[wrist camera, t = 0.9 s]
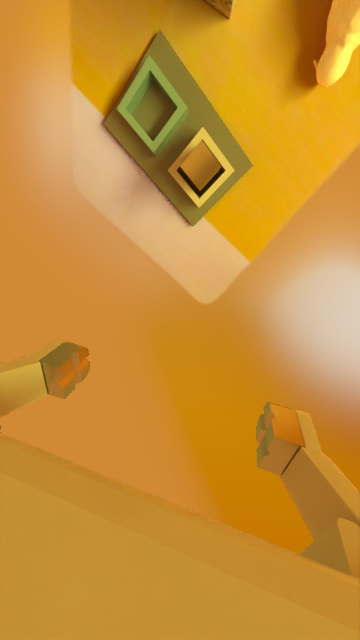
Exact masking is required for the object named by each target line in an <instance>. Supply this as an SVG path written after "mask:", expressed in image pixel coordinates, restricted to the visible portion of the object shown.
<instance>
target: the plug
mask: <svg viewBox="0 0 360 640" xmlns="http://www.w3.org/2000/svg"><path fill="white" fill-rule="evenodd" d="M180 167H181V168H182V169H183V171H184V172H185V173H186V174H187V176H188V177H189V178H190V179H191V181H192V182H193V183H194V184H195V186H196V187H197V188H198V189H199V191H201V190H202V189H203V188H204V186H205V185H206V184H207V183H208V182H209V181H210V180H211V179H212V178H213V177H214V176H215V174H216V173H217V172H218V171H219V169H220V168H221V165H220V164H219V162H218V161H217V160H216V158H215V157H214V156H213V154H212V153H211V152H210V150H209V149H208V147H207V146H206V145H205V143H204V142H203V141H202V140H201V141H200V143H199V144H198V145H197V146H196V147H195V149H194V150H193V151H192V152H191V153H190V155H189V156H188V157H187V158H186V160H185V161H184V162H183V163H182V164H181V166H180Z"/></svg>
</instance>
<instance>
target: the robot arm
mask: <svg viewBox="0 0 360 640" xmlns="http://www.w3.org/2000/svg"><path fill="white" fill-rule="evenodd" d="M88 355H89V351H88V349H87V348H86V347H83V346H80V345H77V344H74V343H71V342H67V341H64V340H61V339H55V340H53V341H52V342H50V343H49V344H47V345H46V346H44V347H43V348H41V349H40V350H38V351H37V352H35V353H34V354H32V355H30V356H29V357H21V358H17V359H13V360H10V361H6V362H2V363H0V417H2V416H5V415H7V414H9V413H11V412H13V411H15V410H17V409H19V408H21V407H23V406H25V405H28V404H29V403H32V402H34V401H36V400H38V399H40V398H42V397H44V396H46V395H48V394H50V395H53V396H56V397H60V398H63V399H65V398H66V397H67V396H68V395H69V394H70V393H71V392H72V391H73V390H74V389H75V385H76V384H77V383H79V382H82V381H83V380H84V378H86V376H87V374H88V372H89V369H90V362H89V361H88V359H87V357H88ZM0 429H1V426H0ZM256 440H257V441H258V443H259V446H258V448H257V467H258V468H261V469H264V470H266V471H269V472H272V473H274V474H277V475H280V476H281V479H282V481H283V483H284V485H285V486H286V488H287V490H288V492H289V494H290V496H291V498H292V499H293V501H294V503H295V505H296V507H297V509H298V510H299V512H300V514H301V516H302V518H303V520H304V522H305V524H306V526H307V527H308V529H309V531H310V533H311V535H312V537H313V539H314V541H313V542H312V543H311V544H310V545H309V546H308V547H307V548H306V549H305V550H303V551H302V552H301V555H299V554H297V553H294V552H292V551H289V550H287V549H284V548H282V547H280V546H277V545H274V544H272V543H270V542H267V541H265V540H262V539H260V538H257V537H255V536H253V535H250V534H248V533H245V532H243V531H240V530H237V529H235V528H233V527H231V526H228V525H226V524H223V523H221V522H218V521H216V520H213V519H211V518H208V517H206V516H204V515H201V514H199V513H196V512H194V511H191V510H189V509H186V508H184V507H182V506H179V505H177V504H174V503H172V502H169V501H167V500H165V499H162V498H160V497H157V496H155V495H152V494H150V493H147V492H145V491H142V490H140V489H138V488H135V487H133V486H130V485H128V484H125V483H123V482H120V481H118V480H115V479H113V478H110V477H108V476H106V475H103V474H101V473H98V472H96V471H93V470H91V469H88V468H86V467H84V466H81V465H79V464H76V463H74V462H71V461H69V460H67V459H64V458H62V457H59V456H57V455H54V454H52V453H49V452H47V451H44V450H42V449H40V448H37V447H34V446H32V445H30V444H27V443H25V442H22V441H20V440H17V439H15V438H13V437H10V436H8V435H5V434H3V433H0V640H360V492H359V491H358V490H357V489H356V488H355V487H354V485H353V484H352V483H351V482H350V481H349V480H348V479H347V478H346V476H345V475H344V474H343V473H342V472H341V471H340V469H339V468H338V467H337V466H336V465H335V464H334V463H333V462H332V460H331V459H330V458H329V457H328V456H327V455H325V454H322V451H321V448H320V445H319V441H318V438H317V435H316V432H315V429H314V426H313V423H312V420H311V417H310V415H309V414H308V413H306V412H302V411H299V410H295V409H291V408H288V407H284V406H281V405H278V404H274V403H270V402H267V403H266V404H265V406H264V414H262V415H260V417H259V419H258V422H257V427H256Z"/></svg>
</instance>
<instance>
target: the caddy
mask: <svg viewBox="0 0 360 640" xmlns="http://www.w3.org/2000/svg"><path fill="white" fill-rule="evenodd" d="M104 125H105V126H106V127H107V129H108V130H109V131H110V132H111V133H112V134H113V135H114V137H115V138H116V139H117V140H118V141H119V142H120V143H121V145H122V146H123V147H124V148H125V149H126V150H127V151H128V153H129V154H130V155H131V156H132V157H133V158H134V159H135V161H136V162H137V163H138V164H139V165H140V166H141V168H142V169H143V170H144V171H145V172H146V173H147V174H148V176H149V177H150V178H151V179H152V180H153V181H154V182H155V184H156V185H157V186H158V187H159V188H160V189H161V190H162V192H163V193H164V194H165V195H166V196H167V197H168V198H169V200H170V201H171V202H172V203H173V204H174V205H175V206H176V208H177V209H178V210H179V211H180V212H181V213H182V214H183V216H184V217H185V218H186V219H187V220H188V221H189V223H190V224H191V225H192V226H194V225H195V224H196V223H197V222H198V221H199V220H200V219H201V218H202V217H203V216H204V215H205V214H206V213H207V212H208V211H209V210H210V209H211V208H212V207H213V206H214V205H215V204H216V203H217V202H218V201H219V200H220V199H221V197H222V196H223V195H224V194H225V193H226V192H227V191H228V190H229V189H230V188H231V187H232V186H233V185H234V184H235V183H236V182H237V181H238V180H239V179H240V178H241V177H242V176H243V175H244V174H245V173H246V172H247V171H248V170H249V169H250V168H251V167H252V166H253V165H252V163H251V162H250V160H249V159H248V157H247V156H246V154H245V153H244V152H243V150H242V149H241V147H240V146H239V144H238V143H237V141H236V140H235V138H234V137H233V136H232V134H231V133H230V131H229V130H228V128H227V127H226V125H225V124H224V122H223V121H222V120H221V118H220V117H219V115H218V114H217V112H216V111H215V109H214V108H213V107H212V105H211V104H210V102H209V101H208V99H207V98H206V96H205V95H204V93H203V92H202V91H201V89H200V88H199V86H198V85H197V83H196V82H195V80H194V79H193V77H192V76H191V75H190V73H189V72H188V70H187V69H186V67H185V66H184V64H183V63H182V62H181V60H180V59H179V57H178V56H177V54H176V53H175V51H174V50H173V48H172V47H171V46H170V44H169V43H168V41H167V40H166V38H165V37H164V35H163V34H162V32H161V31H160V30H159V32H158V34H157V35H156V37H155V39H154V40H153V42H152V44H151V45H150V47H149V49H148V50H147V52H146V54H145V55H144V57H143V59H142V60H141V62H140V64H139V65H138V67H137V69H136V70H135V72H134V74H133V75H132V77H131V79H130V80H129V82H128V84H127V85H126V87H125V89H124V90H123V92H122V94H121V95H120V97H119V99H118V100H117V102H116V104H115V105H114V107H113V109H112V110H111V112H110V114H109V116H108V117H107V119H106V121H105V122H104ZM201 140H202V141H203V142H204V143H205V145H206V146H207V147H208V149H209V150H210V152H211V153H212V154H213V156H214V157H215V158H216V160H217V161H218V162H219V164H220V165H221V168H220V169H219V171H218V172H217V173H216V174H215V176H214V177H213V178H212V179H211V180H210V181H209V182H208V183H207V184H206V185H205V186H204V188H203V189H202V190H201V191H199V189H198V188H197V187H196V186H195V184H194V183H193V182H192V181H191V179H190V178H189V177H188V176H187V174H186V173H185V172H184V171H183V169H182V168H181V167H180V166H181V164H182V163H183V162H184V161H185V160H186V158H187V157H188V156H189V155H190V153H191V152H192V151H193V150H194V149H195V147H196V146H197V145H198V144H199V143H200V141H201Z"/></svg>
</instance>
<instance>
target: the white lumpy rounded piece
mask: <svg viewBox="0 0 360 640" xmlns="http://www.w3.org/2000/svg"><path fill="white" fill-rule="evenodd" d="M359 44H360V0H333V1H332V5H331V9H330V13H329V16H328V20H327V31H326V48H325V50H324V52H323V54H322V56H321V58H320V60H319V63H318V66H317V63H316V60H315V62H314V61H313V63H314V66H315V69H316V79H317V83H318V84H319V85H320V86H322V87H326V86H330V85H332V84H333V83H335V82H336V81H337V80H338V79H339V78H340V77H341V76H342V75H343V73H344V72H345V71H346V68H347V66H348V63H349V60H350V57H351V54H352V51H353V50H354V49H355V48H356V47H357V46H358V45H359ZM315 63H316V64H315Z"/></svg>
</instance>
